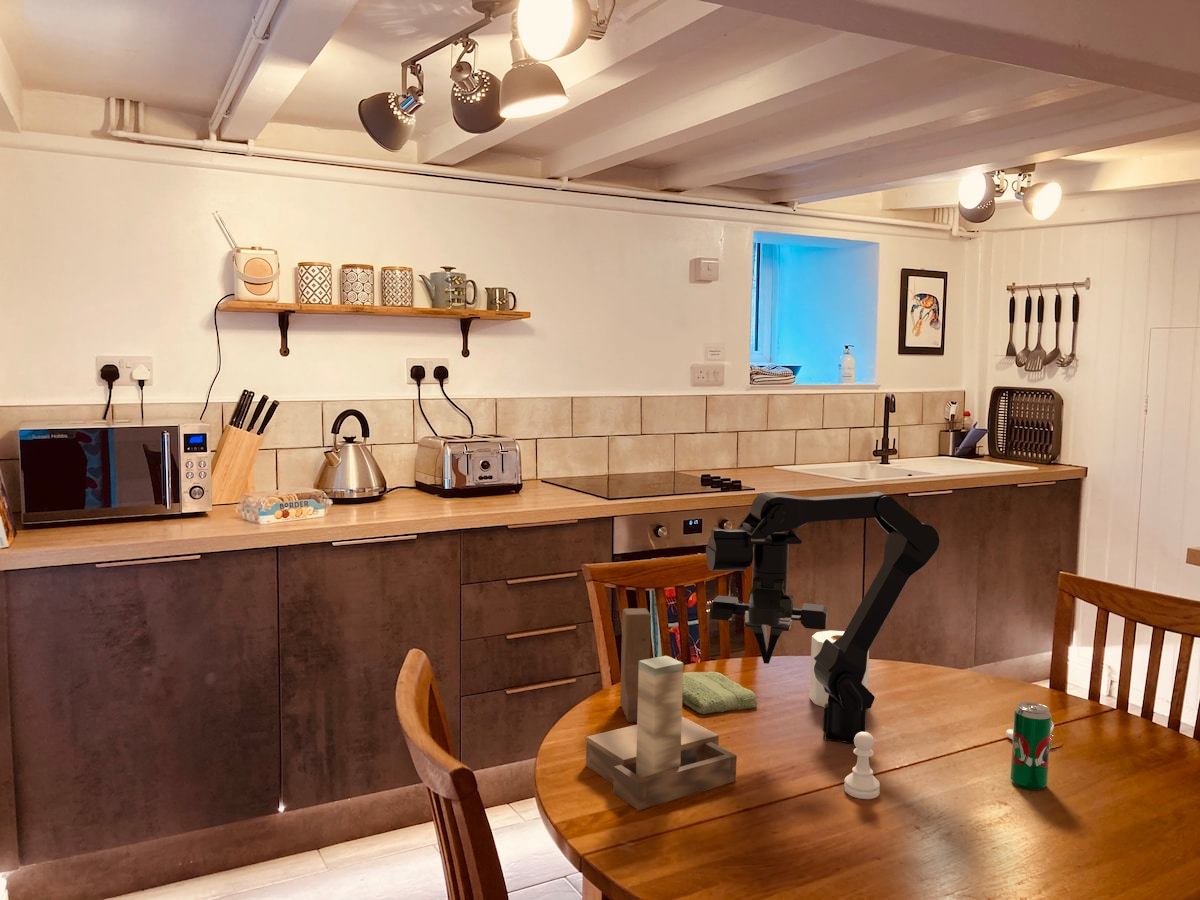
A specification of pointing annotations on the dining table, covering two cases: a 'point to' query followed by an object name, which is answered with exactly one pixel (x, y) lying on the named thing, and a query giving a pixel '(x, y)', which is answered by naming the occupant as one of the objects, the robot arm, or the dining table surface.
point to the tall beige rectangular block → (659, 715)
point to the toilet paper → (818, 639)
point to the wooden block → (633, 656)
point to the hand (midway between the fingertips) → (766, 663)
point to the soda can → (1031, 746)
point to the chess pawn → (862, 770)
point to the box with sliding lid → (696, 773)
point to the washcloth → (715, 693)
